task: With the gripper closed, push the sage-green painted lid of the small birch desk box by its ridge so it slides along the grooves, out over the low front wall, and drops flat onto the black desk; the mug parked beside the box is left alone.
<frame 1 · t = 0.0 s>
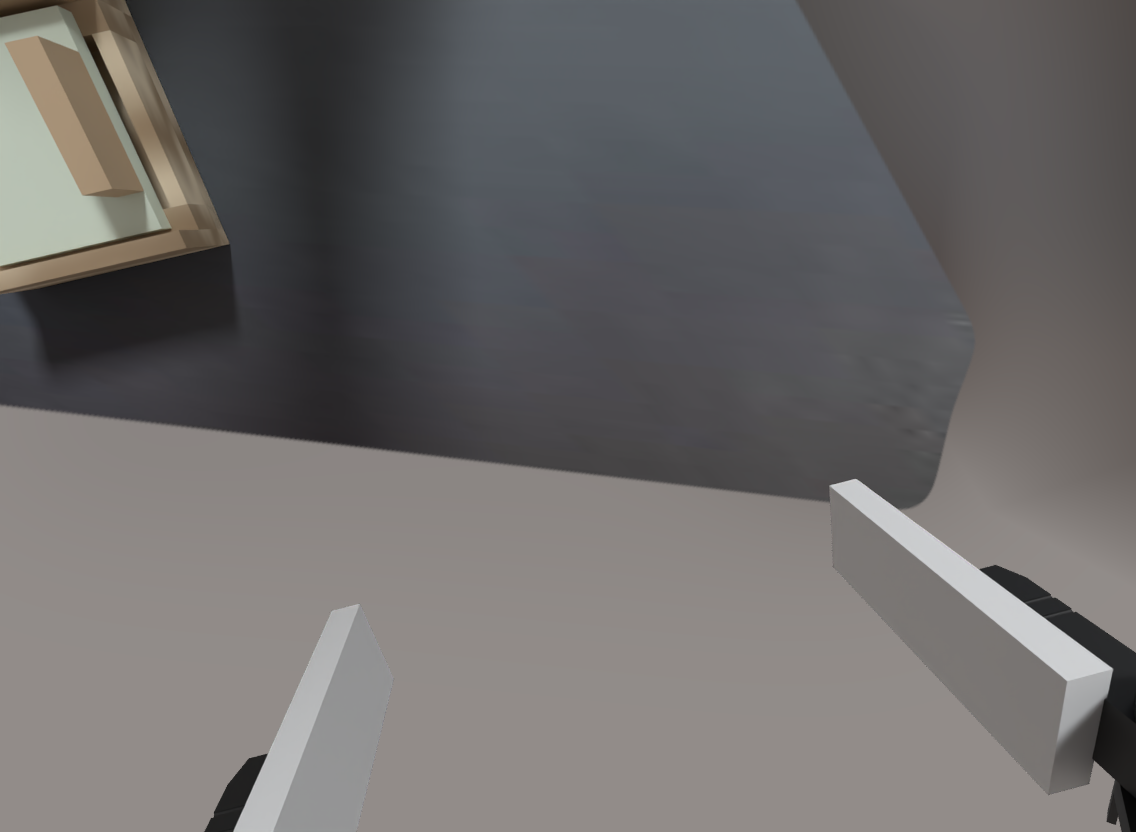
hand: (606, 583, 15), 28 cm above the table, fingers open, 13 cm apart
birch box: (77, 153, 33), on the table
lid: (38, 147, 30), point 3 cm above the table, touching birch box
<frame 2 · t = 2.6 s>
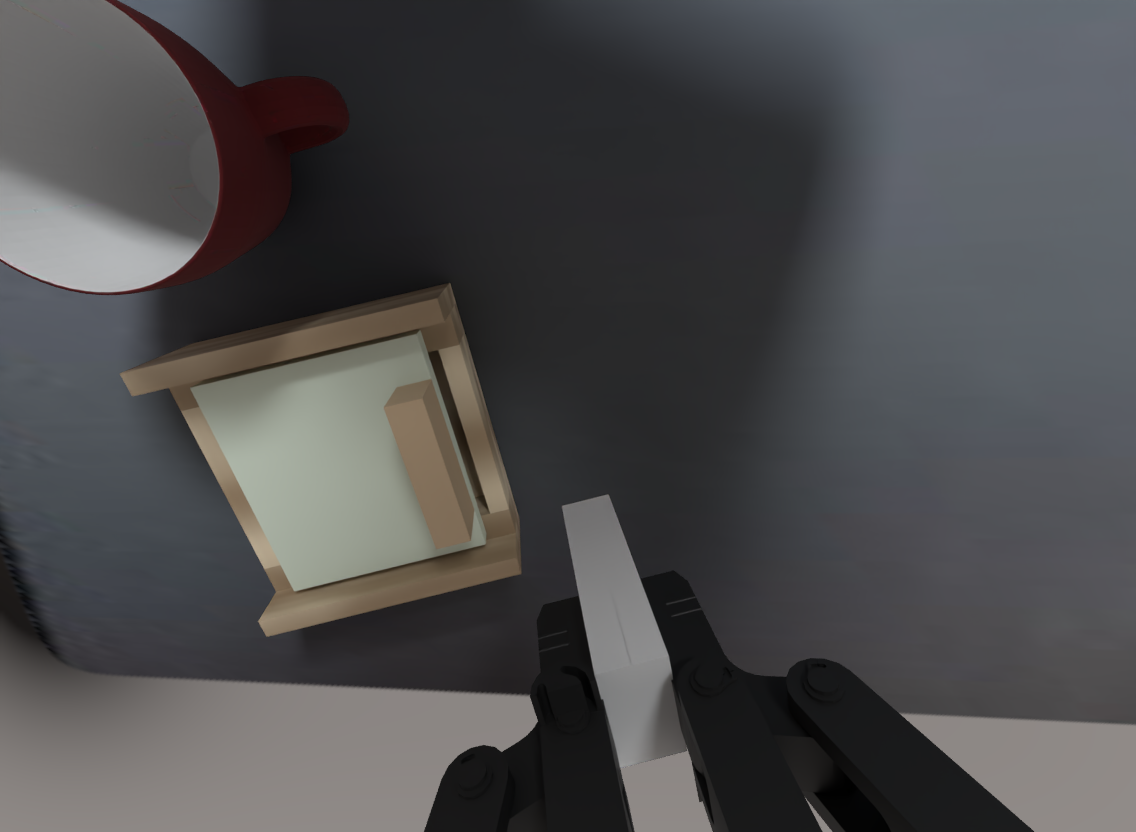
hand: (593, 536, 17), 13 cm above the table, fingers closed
mug: (263, 159, 24), on the table
birch box: (370, 439, 29), on the table
lid: (356, 463, 26), point 3 cm above the table, touching birch box
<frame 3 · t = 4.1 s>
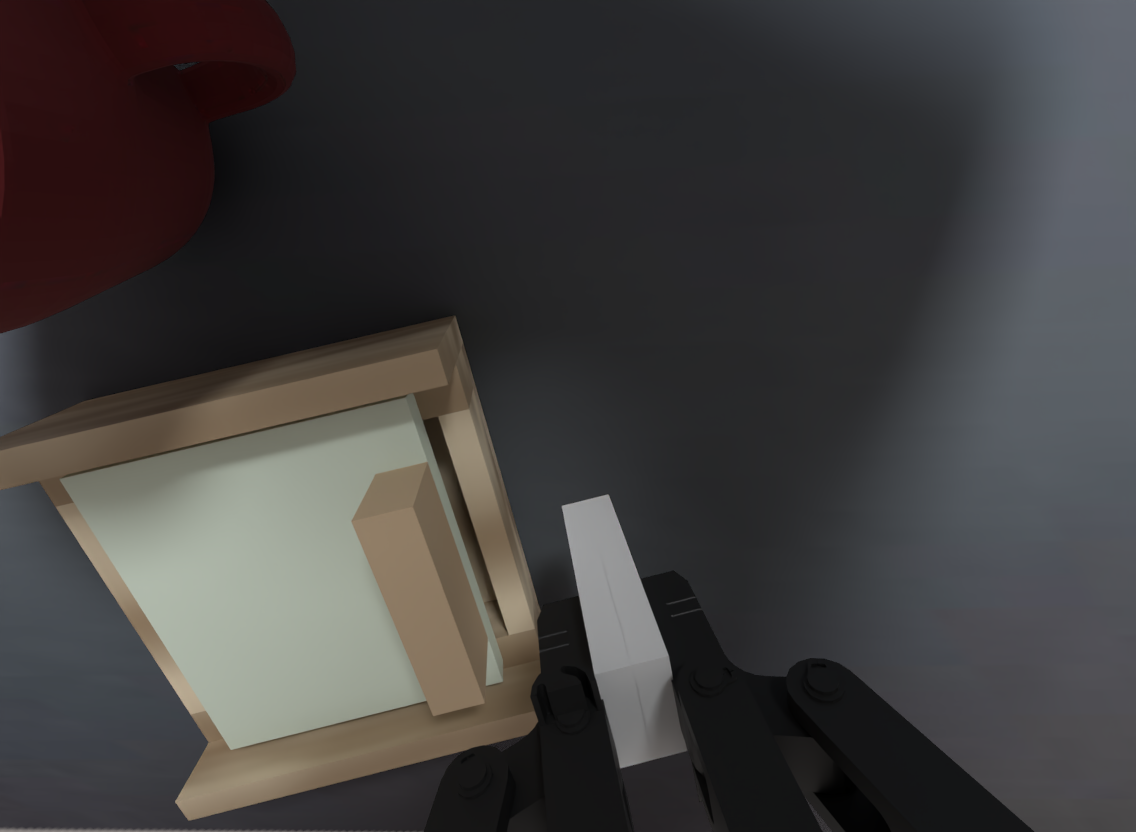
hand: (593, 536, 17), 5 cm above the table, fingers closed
mug: (180, 136, 16), on the table
birch box: (343, 526, 21), on the table
lid: (318, 573, 18), point 3 cm above the table, touching birch box
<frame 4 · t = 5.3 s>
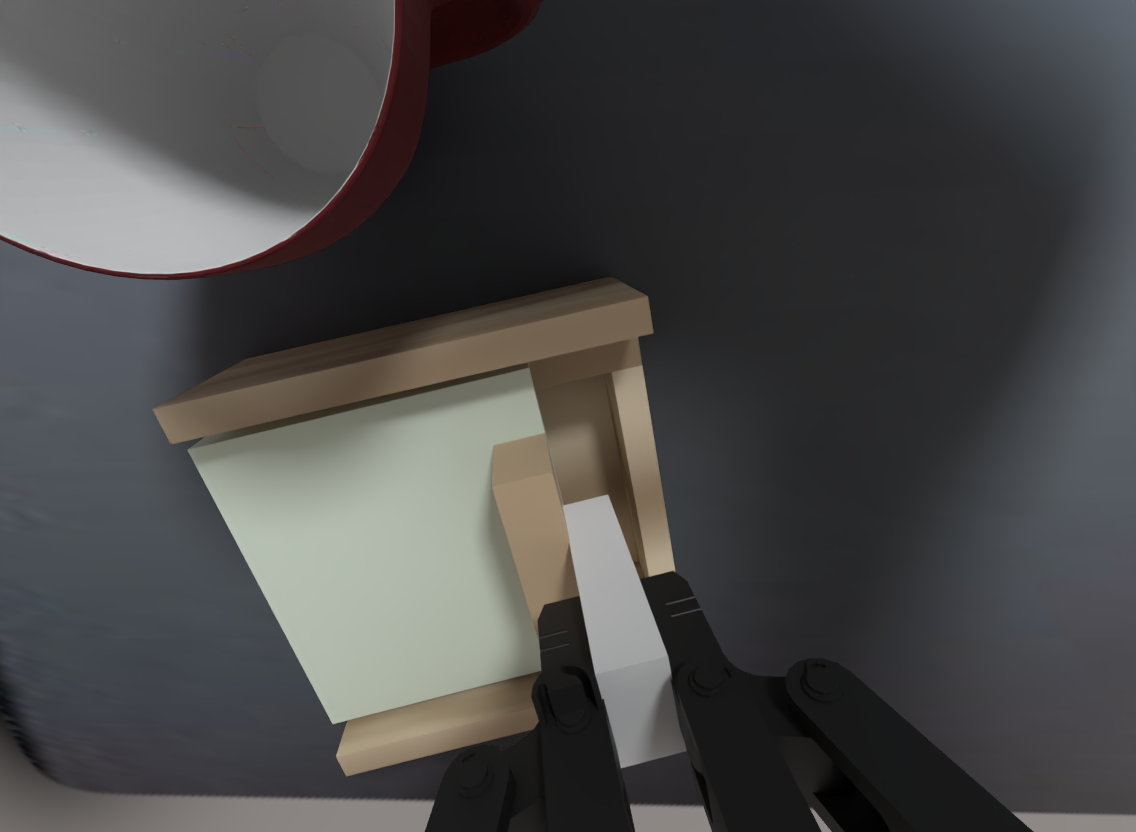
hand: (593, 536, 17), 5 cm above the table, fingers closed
mug: (363, 91, 16), on the table
birch box: (482, 489, 21), on the table
lid: (424, 547, 18), point 3 cm above the table, touching birch box, gripper
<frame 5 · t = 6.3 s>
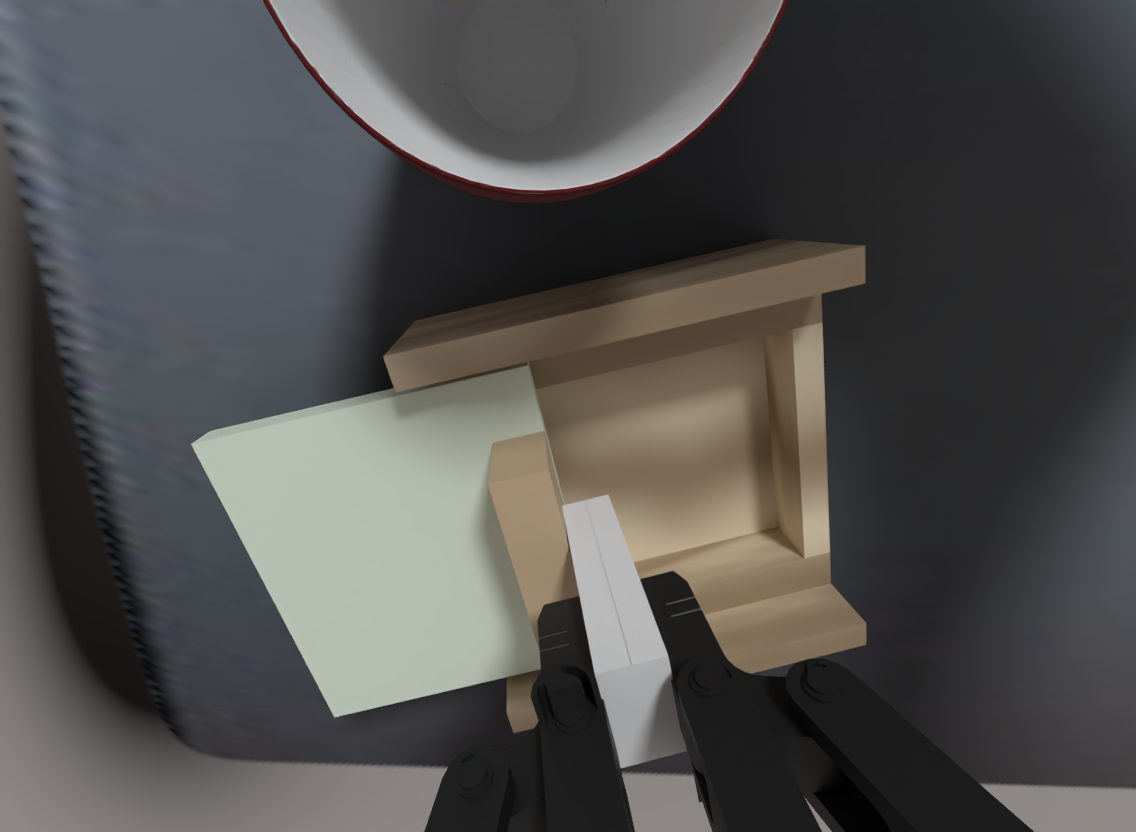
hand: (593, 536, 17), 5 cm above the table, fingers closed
mug: (553, 51, 16), on the table
birch box: (628, 454, 21), on the table
lid: (425, 544, 18), point 3 cm above the table, touching birch box, gripper
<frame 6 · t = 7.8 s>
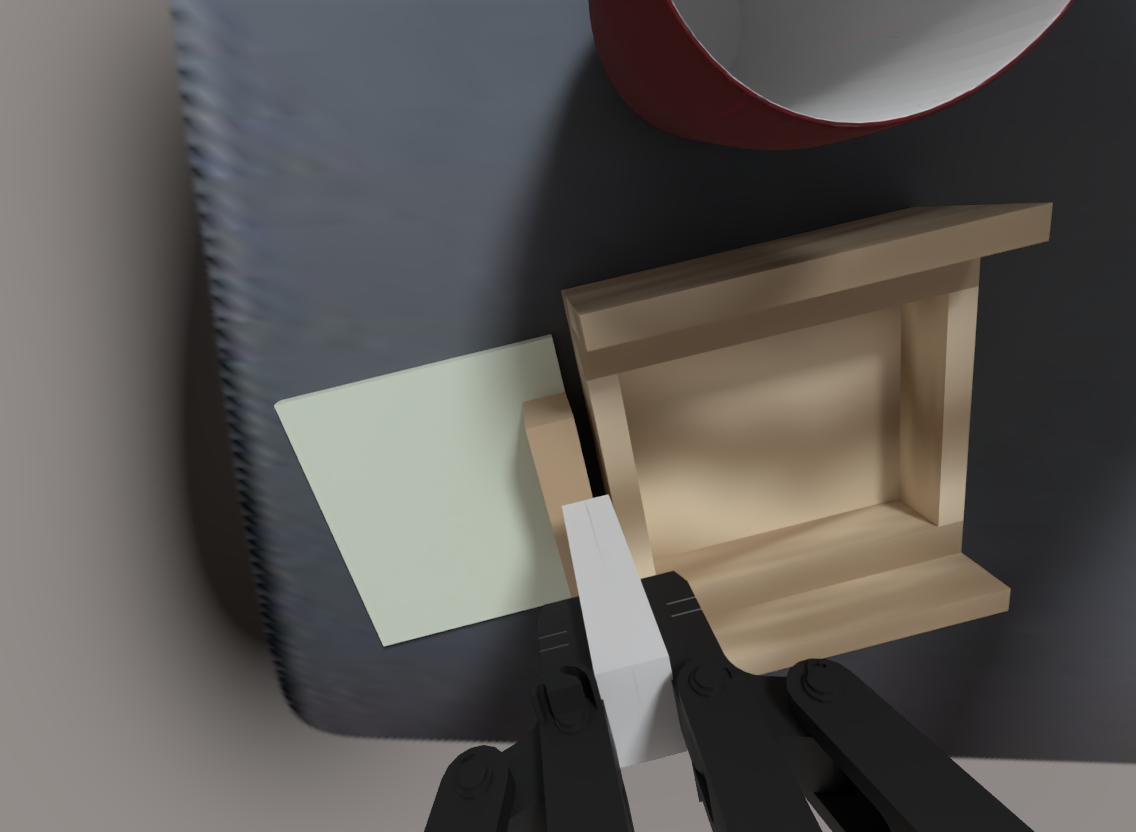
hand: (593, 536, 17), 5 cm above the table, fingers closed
mug: (714, 18, 17), on the table
birch box: (755, 426, 21), on the table
lid: (462, 493, 22), on the table
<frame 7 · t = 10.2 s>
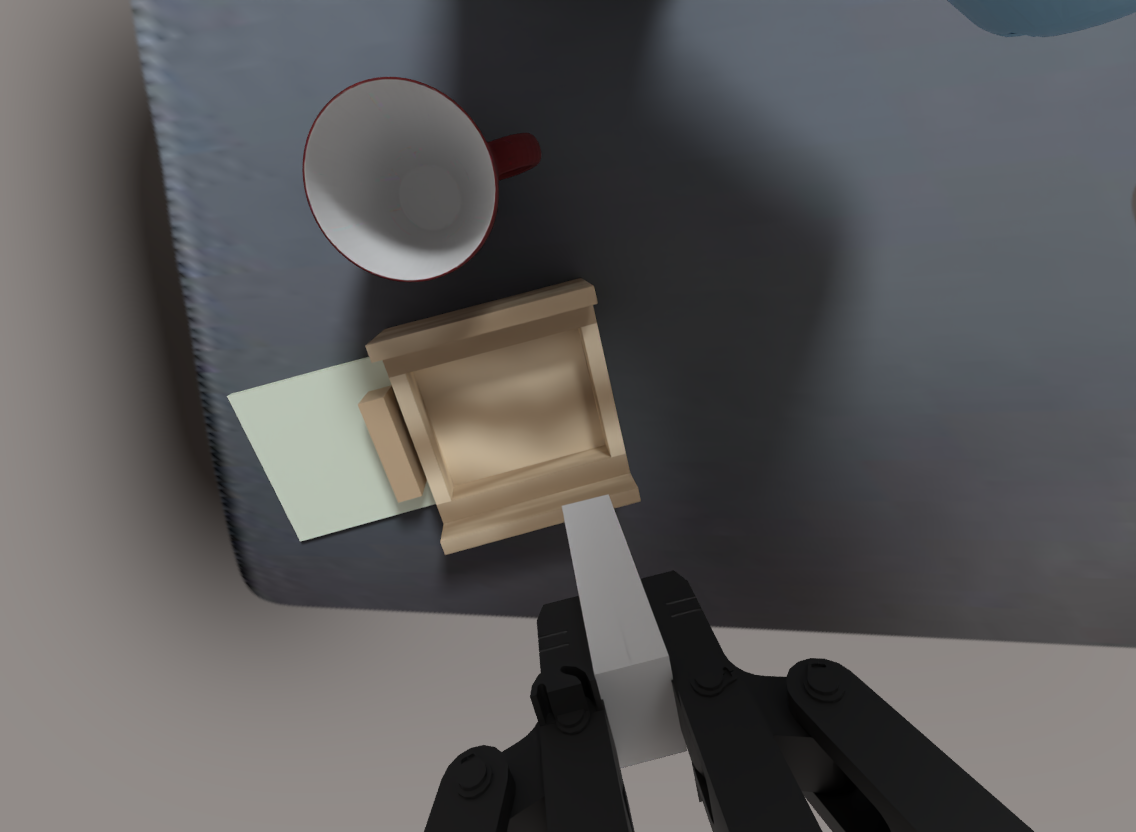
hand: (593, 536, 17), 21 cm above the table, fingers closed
mug: (449, 188, 32), on the table
birch box: (512, 403, 37), on the table
lid: (342, 447, 37), on the table
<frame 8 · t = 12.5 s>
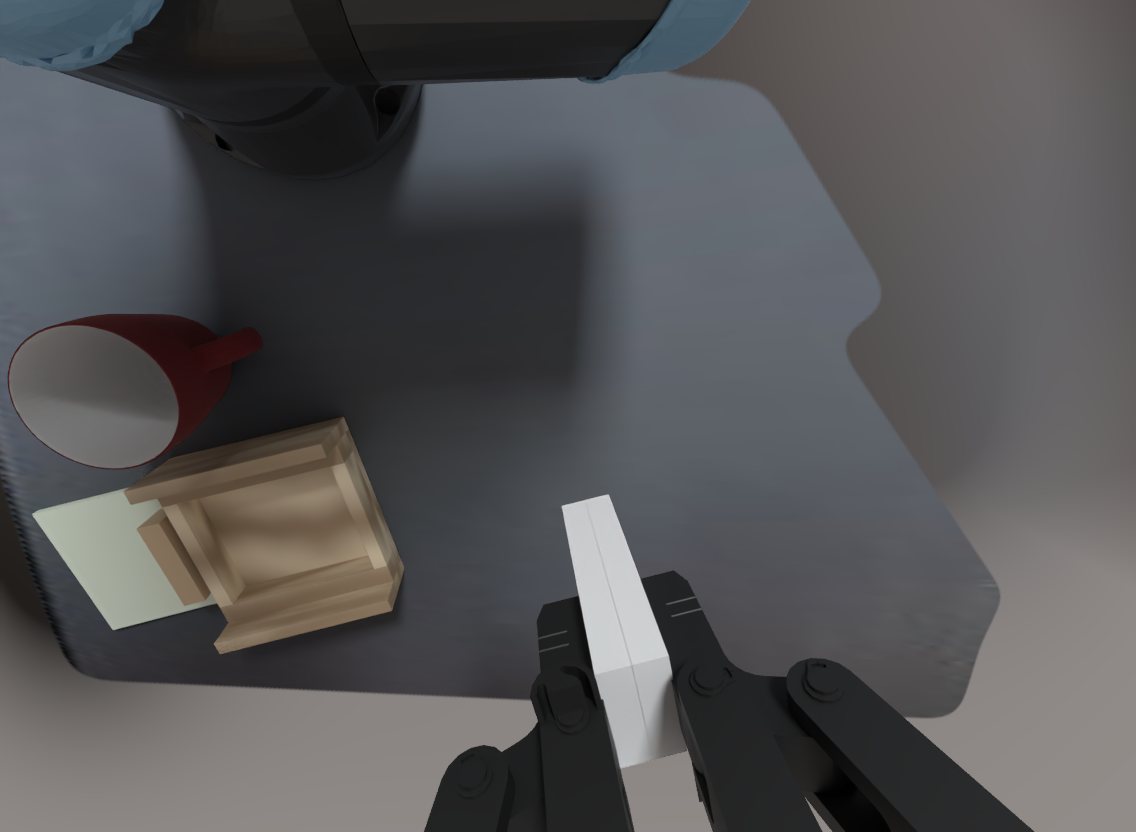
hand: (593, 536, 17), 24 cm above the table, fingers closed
mug: (216, 346, 37), on the table
birch box: (294, 516, 42), on the table
lid: (146, 551, 42), on the table
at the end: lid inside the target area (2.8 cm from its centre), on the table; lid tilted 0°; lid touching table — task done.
